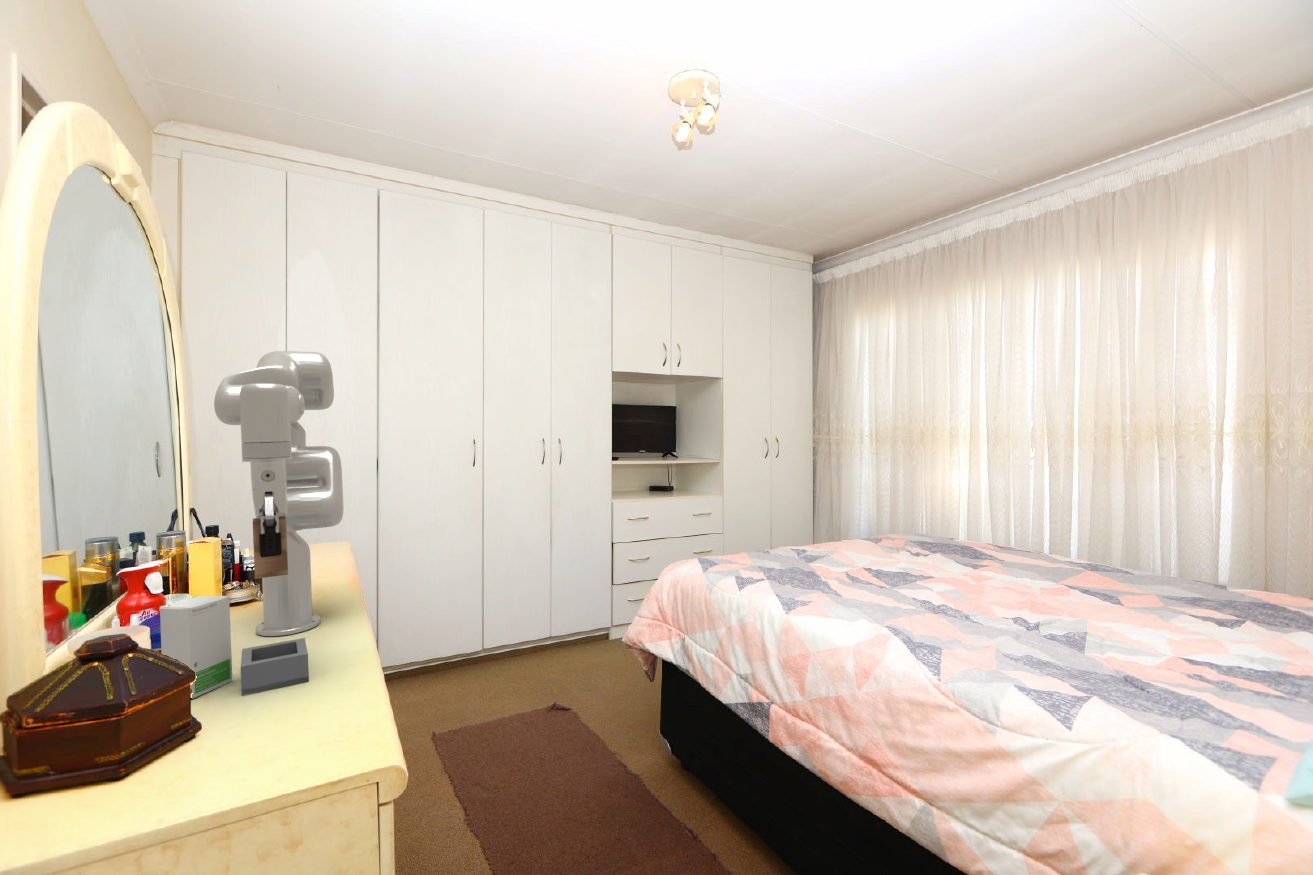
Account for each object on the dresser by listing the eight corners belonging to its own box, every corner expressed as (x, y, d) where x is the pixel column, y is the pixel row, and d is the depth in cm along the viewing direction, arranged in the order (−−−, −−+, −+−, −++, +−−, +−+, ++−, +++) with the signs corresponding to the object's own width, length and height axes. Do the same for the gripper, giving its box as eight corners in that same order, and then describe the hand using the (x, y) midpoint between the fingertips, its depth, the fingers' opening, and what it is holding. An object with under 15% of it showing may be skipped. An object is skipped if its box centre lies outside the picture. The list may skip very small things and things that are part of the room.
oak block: (287, 569, 115) (285, 515, 115) (288, 574, 111) (286, 518, 110) (255, 573, 112) (253, 518, 112) (254, 578, 108) (252, 521, 108)
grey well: (243, 675, 114) (242, 648, 113) (305, 663, 119) (304, 637, 119) (241, 695, 105) (240, 666, 105) (308, 681, 110) (307, 653, 110)
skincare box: (191, 700, 104) (187, 608, 103) (159, 698, 105) (155, 607, 105) (235, 679, 112) (231, 594, 111) (204, 677, 113) (201, 593, 113)
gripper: (293, 453, 106) (297, 558, 106) (289, 450, 120) (293, 543, 121) (240, 455, 102) (244, 565, 102) (243, 452, 116) (247, 548, 117)
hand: (270, 552), depth 111 cm, fingers closed on oak block, 5 cm apart
